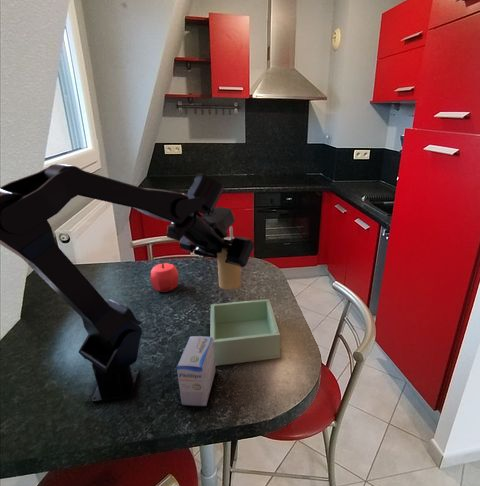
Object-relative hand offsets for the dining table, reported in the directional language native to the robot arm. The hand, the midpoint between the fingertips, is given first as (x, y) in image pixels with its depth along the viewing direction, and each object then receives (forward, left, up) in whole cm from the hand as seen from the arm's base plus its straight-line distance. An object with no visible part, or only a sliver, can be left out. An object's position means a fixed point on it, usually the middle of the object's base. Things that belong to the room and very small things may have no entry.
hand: (232, 259), depth 81 cm
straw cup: (-1, +1, -7) cm, 7 cm away
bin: (-17, -1, -12) cm, 21 cm away
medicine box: (-29, +8, -12) cm, 32 cm away
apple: (+10, +19, -12) cm, 25 cm away
